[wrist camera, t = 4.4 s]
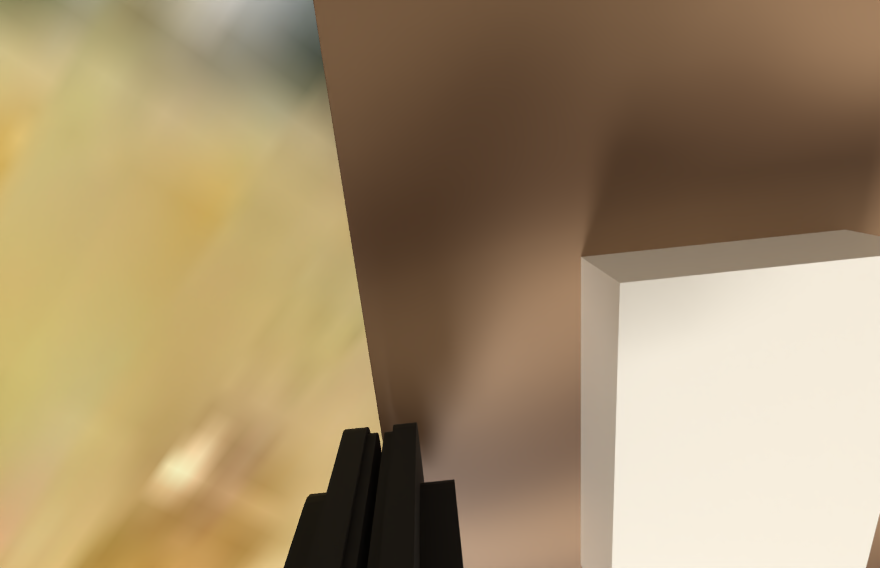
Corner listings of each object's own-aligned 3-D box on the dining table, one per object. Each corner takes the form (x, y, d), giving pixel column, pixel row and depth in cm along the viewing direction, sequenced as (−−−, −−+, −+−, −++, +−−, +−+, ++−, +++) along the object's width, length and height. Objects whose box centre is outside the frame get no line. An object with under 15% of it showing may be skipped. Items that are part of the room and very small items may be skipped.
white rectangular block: (580, 257, 10) (619, 283, 8) (844, 229, 10) (947, 248, 8) (580, 564, 12) (609, 639, 11) (789, 540, 13) (854, 610, 11)
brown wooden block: (340, 2, 12) (302, -69, 8) (860, -47, 12) (1070, -140, 8) (426, 610, 18) (428, 733, 14) (760, 571, 18) (850, 683, 15)
